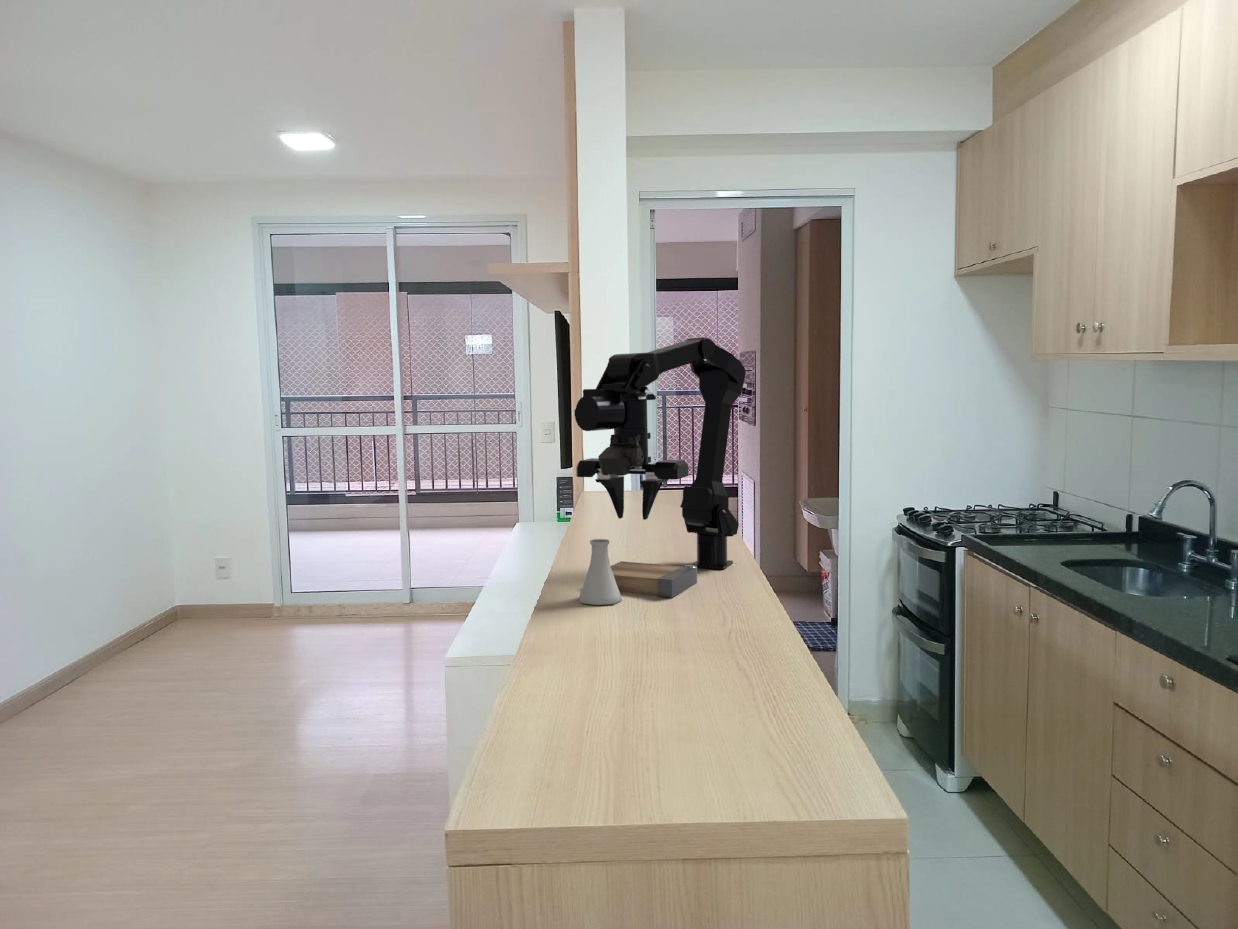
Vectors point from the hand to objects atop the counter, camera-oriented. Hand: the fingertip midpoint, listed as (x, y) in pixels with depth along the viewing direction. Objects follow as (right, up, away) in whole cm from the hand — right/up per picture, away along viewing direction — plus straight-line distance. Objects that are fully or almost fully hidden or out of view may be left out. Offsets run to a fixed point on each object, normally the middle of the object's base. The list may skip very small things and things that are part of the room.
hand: (632, 518), depth 147 cm
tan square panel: (+1, -12, +3) cm, 12 cm away
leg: (+8, -12, -1) cm, 14 cm away
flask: (-5, -13, -7) cm, 16 cm away
